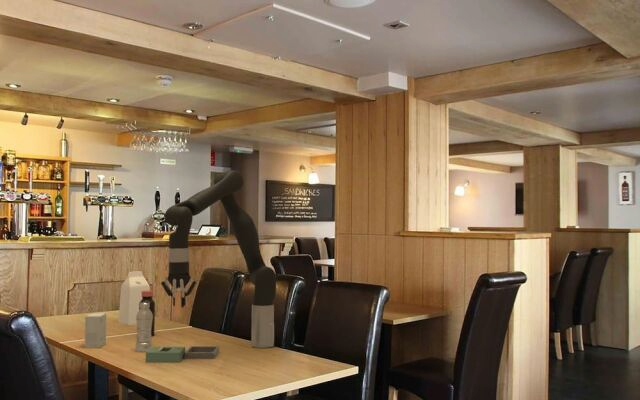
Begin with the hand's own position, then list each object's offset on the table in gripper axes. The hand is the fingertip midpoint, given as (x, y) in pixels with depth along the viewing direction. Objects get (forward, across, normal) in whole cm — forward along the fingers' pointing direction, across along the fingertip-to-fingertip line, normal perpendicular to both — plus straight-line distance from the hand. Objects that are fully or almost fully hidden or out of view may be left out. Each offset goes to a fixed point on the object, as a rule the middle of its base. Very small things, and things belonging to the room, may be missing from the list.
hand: (179, 307), depth 225 cm
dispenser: (+20, +5, +2) cm, 21 cm away
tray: (+20, -7, -4) cm, 22 cm away
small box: (+20, +40, -28) cm, 53 cm away
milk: (+20, +40, -85) cm, 96 cm away
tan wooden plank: (+3, 0, +1) cm, 4 cm away
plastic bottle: (+20, +16, -13) cm, 29 cm away
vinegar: (+20, +25, -51) cm, 60 cm away
